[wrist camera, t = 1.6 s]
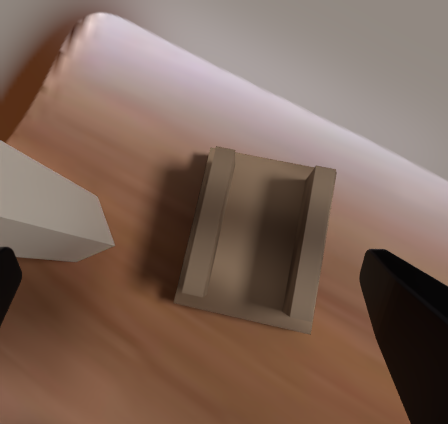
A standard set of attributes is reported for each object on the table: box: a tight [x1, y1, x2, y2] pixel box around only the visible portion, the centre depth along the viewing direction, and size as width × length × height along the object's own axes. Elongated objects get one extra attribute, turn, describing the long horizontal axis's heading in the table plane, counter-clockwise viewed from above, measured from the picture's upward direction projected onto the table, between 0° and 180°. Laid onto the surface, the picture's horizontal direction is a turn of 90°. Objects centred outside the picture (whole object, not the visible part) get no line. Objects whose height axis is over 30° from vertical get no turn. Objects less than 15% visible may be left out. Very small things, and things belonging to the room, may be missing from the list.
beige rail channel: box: [174, 146, 337, 335], centre depth 21 cm, size 11×9×4 cm
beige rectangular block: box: [0, 140, 115, 262], centre depth 18 cm, size 4×3×12 cm
